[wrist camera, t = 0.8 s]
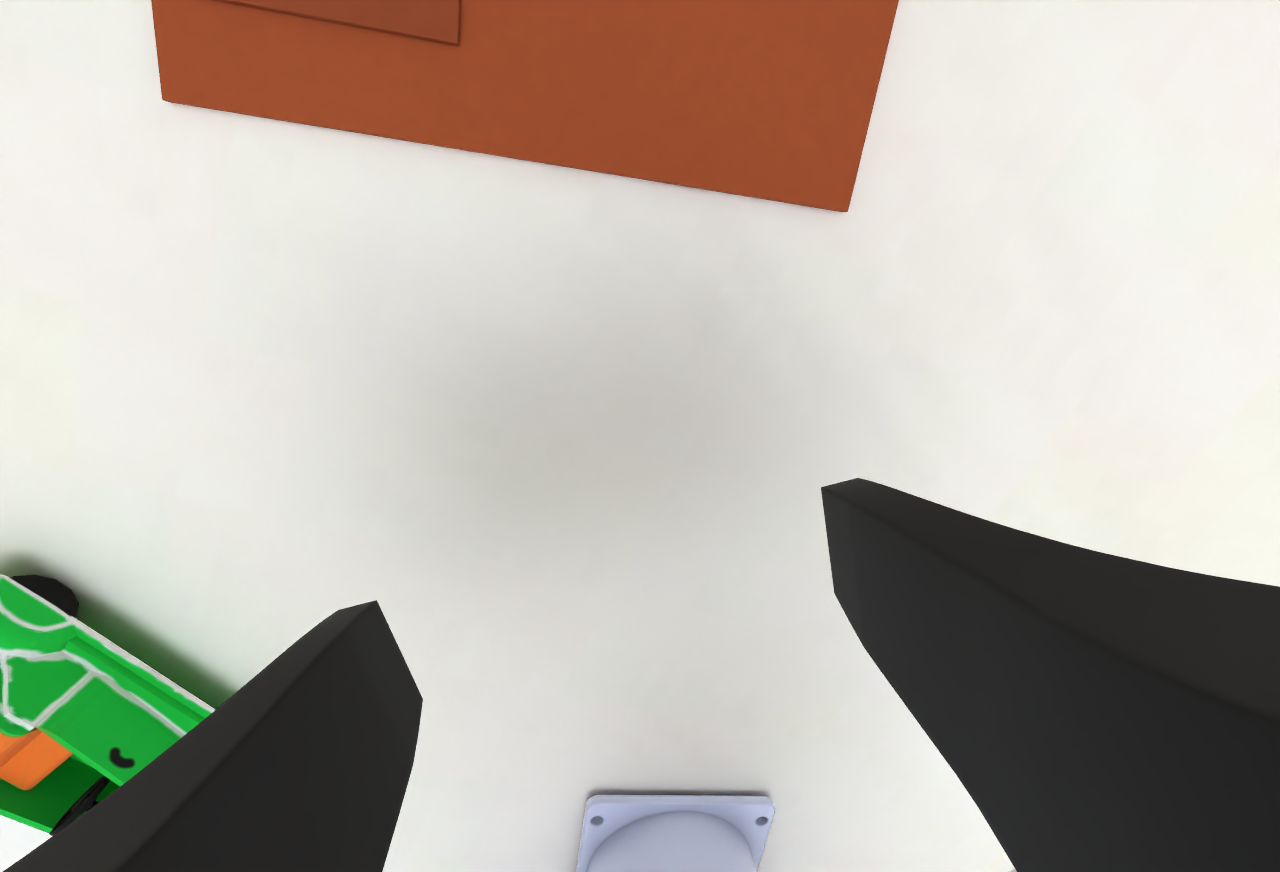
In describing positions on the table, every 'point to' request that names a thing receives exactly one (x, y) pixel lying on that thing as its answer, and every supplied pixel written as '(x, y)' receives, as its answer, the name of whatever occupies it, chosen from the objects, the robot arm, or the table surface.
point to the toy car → (74, 708)
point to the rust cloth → (559, 80)
